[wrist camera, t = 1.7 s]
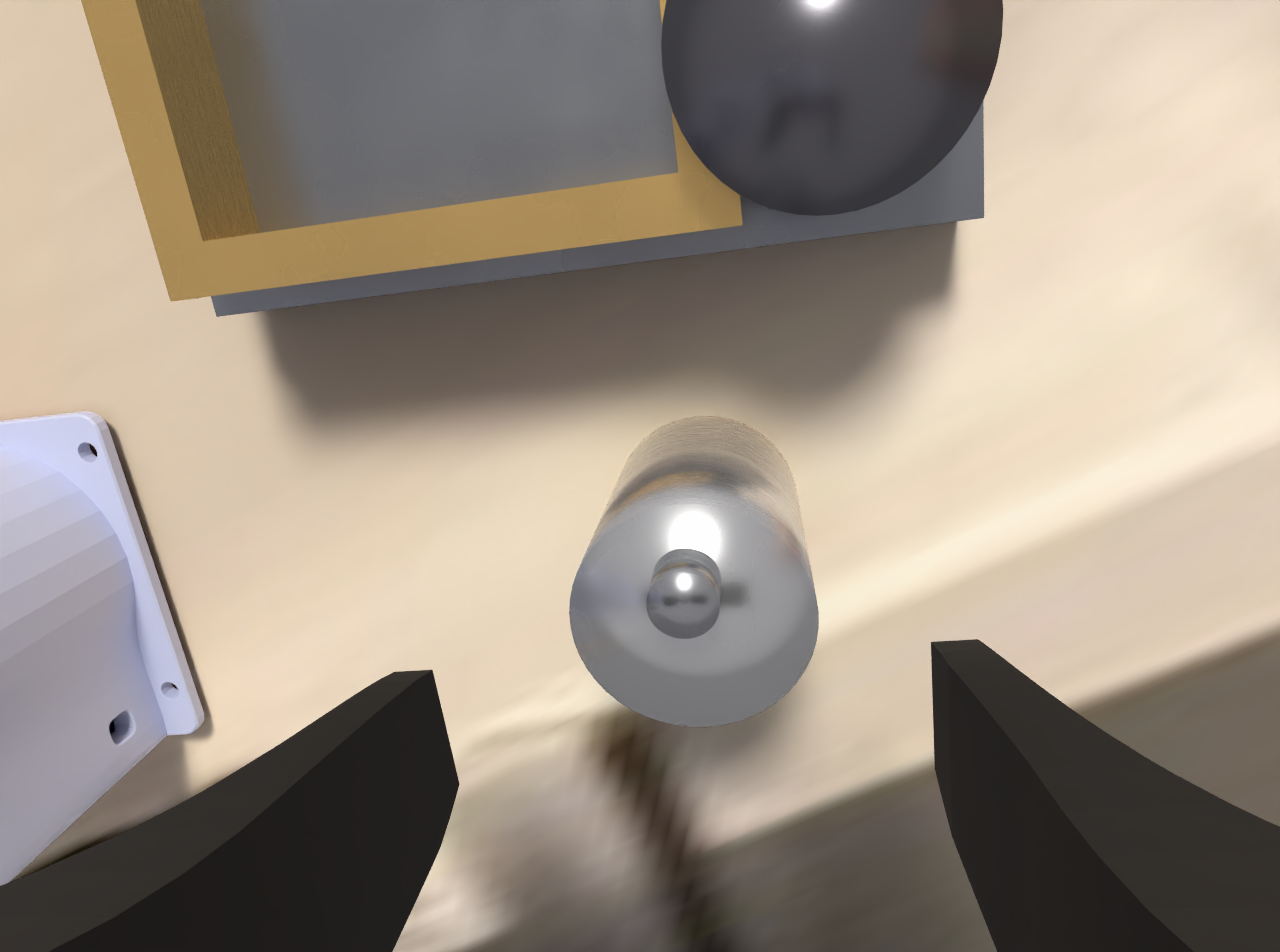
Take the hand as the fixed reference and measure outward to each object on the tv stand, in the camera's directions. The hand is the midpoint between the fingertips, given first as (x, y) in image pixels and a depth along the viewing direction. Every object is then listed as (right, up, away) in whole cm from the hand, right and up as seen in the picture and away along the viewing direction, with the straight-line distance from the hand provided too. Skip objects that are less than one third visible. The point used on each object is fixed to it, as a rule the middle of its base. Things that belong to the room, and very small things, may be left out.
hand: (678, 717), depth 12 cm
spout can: (+1, +3, +8) cm, 9 cm away
